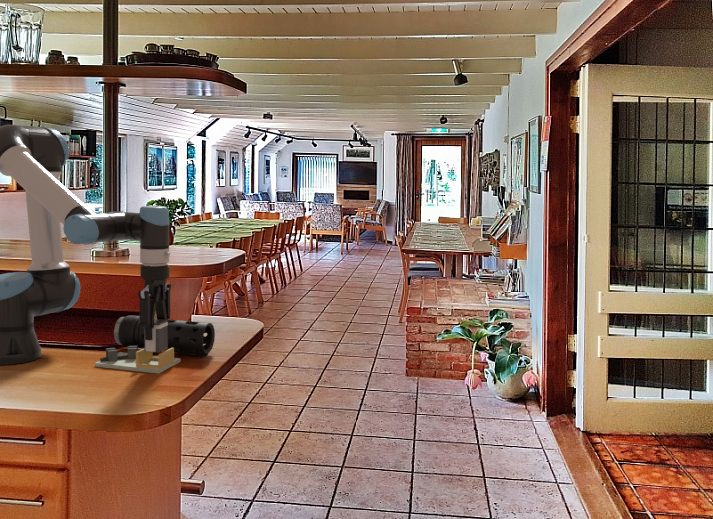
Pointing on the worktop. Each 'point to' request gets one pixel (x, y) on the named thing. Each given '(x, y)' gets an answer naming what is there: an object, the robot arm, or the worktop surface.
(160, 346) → the plug
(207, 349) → the muzzle brake
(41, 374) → the worktop surface
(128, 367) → the board
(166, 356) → the end holder
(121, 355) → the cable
